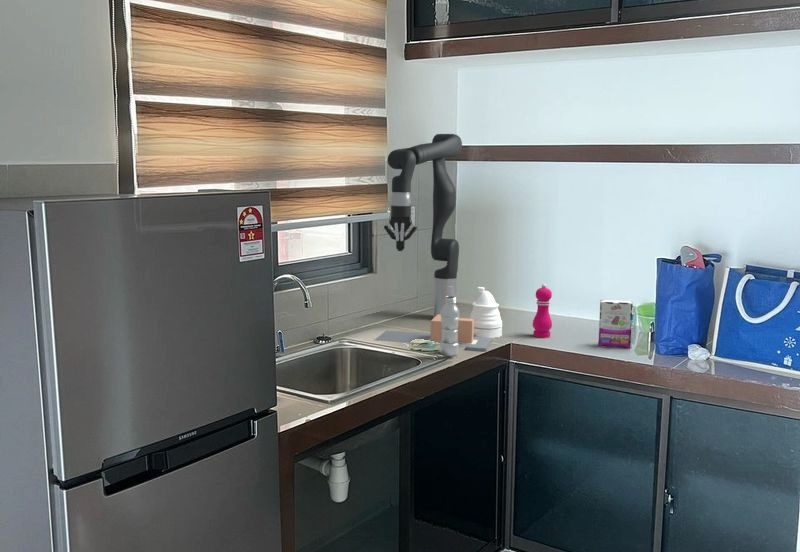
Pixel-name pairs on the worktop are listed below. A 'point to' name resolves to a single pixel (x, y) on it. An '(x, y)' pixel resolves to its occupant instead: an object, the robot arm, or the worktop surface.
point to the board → (407, 337)
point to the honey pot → (486, 316)
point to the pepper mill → (542, 313)
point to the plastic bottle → (449, 328)
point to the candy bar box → (615, 323)
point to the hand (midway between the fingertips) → (400, 250)
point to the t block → (463, 330)
